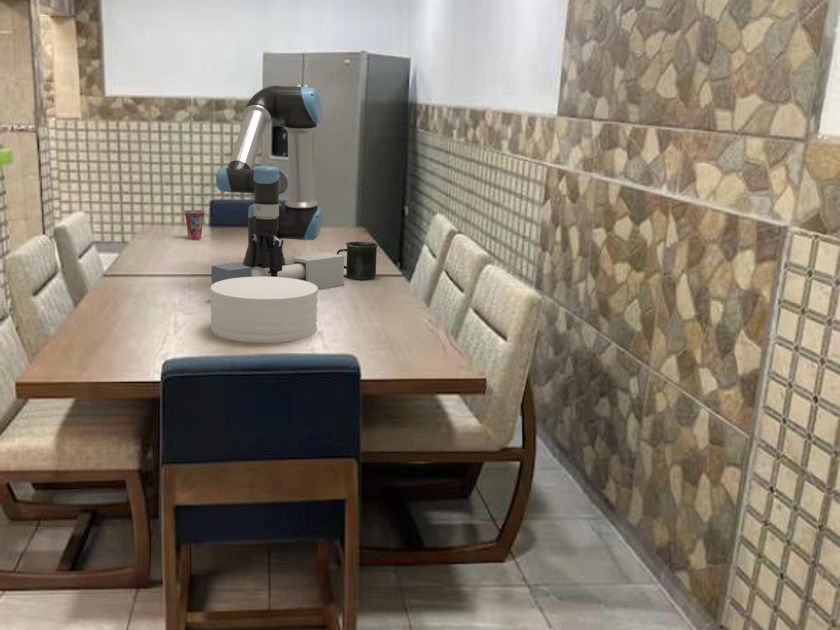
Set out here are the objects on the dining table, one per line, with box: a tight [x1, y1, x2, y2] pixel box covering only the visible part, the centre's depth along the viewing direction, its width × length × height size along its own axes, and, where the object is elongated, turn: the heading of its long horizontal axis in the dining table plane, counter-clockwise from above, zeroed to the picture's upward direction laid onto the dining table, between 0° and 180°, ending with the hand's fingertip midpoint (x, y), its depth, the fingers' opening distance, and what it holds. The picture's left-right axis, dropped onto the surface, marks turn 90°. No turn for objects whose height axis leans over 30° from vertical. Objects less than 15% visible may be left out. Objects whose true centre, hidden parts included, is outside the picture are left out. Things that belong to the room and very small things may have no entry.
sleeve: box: [291, 252, 345, 290], centre depth 279 cm, size 16×8×10 cm, turn 139°
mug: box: [336, 241, 379, 281], centre depth 296 cm, size 11×15×12 cm
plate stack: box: [210, 277, 319, 343], centre depth 225 cm, size 28×28×12 cm
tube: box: [252, 263, 306, 279], centre depth 267 cm, size 32×7×7 cm, turn 139°
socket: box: [211, 262, 253, 285], centre depth 253 cm, size 8×9×10 cm
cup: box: [183, 209, 206, 241], centre depth 359 cm, size 9×8×12 cm
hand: (266, 290), depth 264 cm, fingers closed on tube, 5 cm apart
